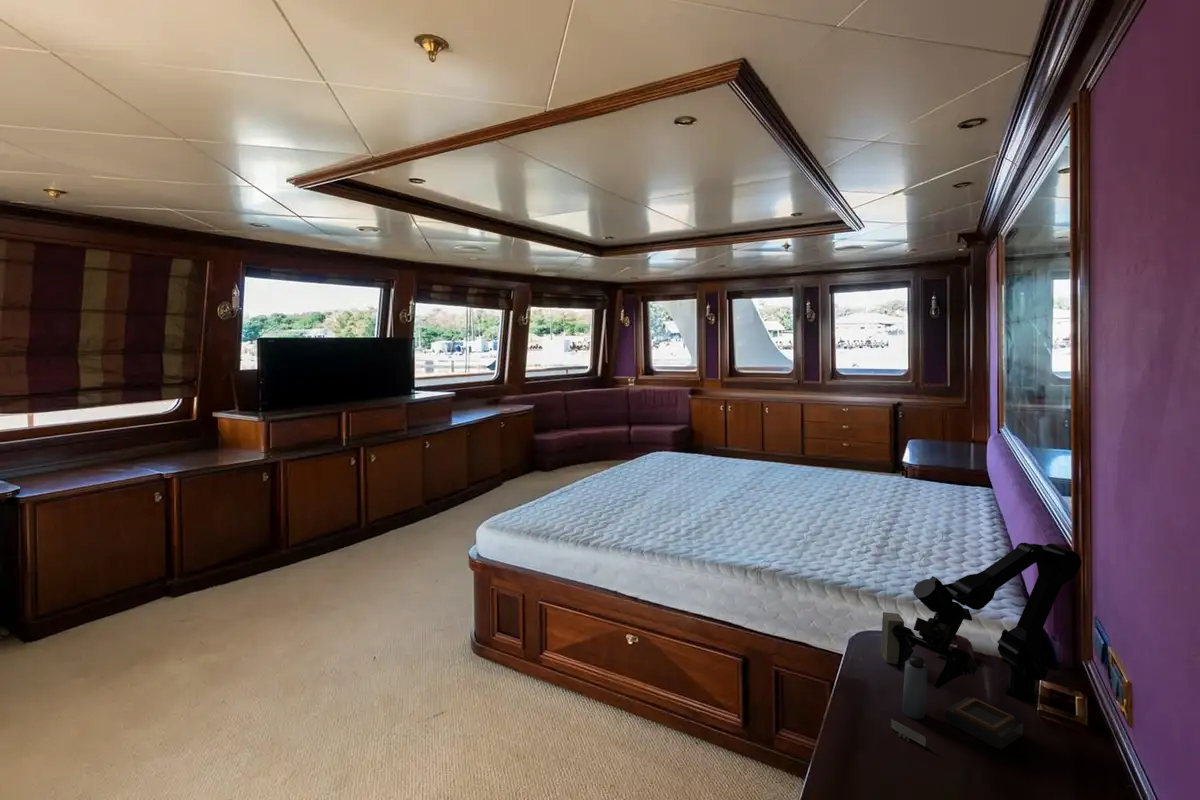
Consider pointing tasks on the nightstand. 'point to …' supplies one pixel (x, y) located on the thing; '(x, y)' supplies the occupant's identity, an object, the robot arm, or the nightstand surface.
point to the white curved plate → (908, 733)
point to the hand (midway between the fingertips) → (916, 678)
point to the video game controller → (962, 645)
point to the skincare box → (890, 637)
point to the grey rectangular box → (984, 722)
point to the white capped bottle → (915, 688)
